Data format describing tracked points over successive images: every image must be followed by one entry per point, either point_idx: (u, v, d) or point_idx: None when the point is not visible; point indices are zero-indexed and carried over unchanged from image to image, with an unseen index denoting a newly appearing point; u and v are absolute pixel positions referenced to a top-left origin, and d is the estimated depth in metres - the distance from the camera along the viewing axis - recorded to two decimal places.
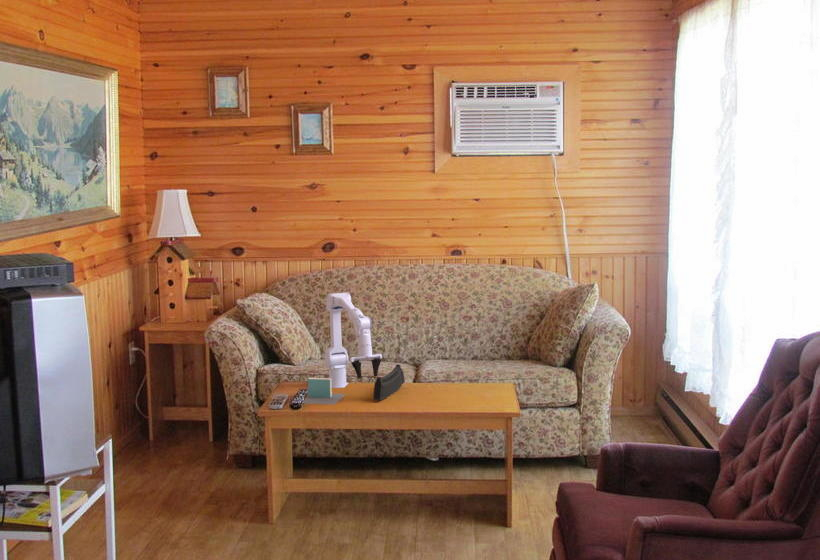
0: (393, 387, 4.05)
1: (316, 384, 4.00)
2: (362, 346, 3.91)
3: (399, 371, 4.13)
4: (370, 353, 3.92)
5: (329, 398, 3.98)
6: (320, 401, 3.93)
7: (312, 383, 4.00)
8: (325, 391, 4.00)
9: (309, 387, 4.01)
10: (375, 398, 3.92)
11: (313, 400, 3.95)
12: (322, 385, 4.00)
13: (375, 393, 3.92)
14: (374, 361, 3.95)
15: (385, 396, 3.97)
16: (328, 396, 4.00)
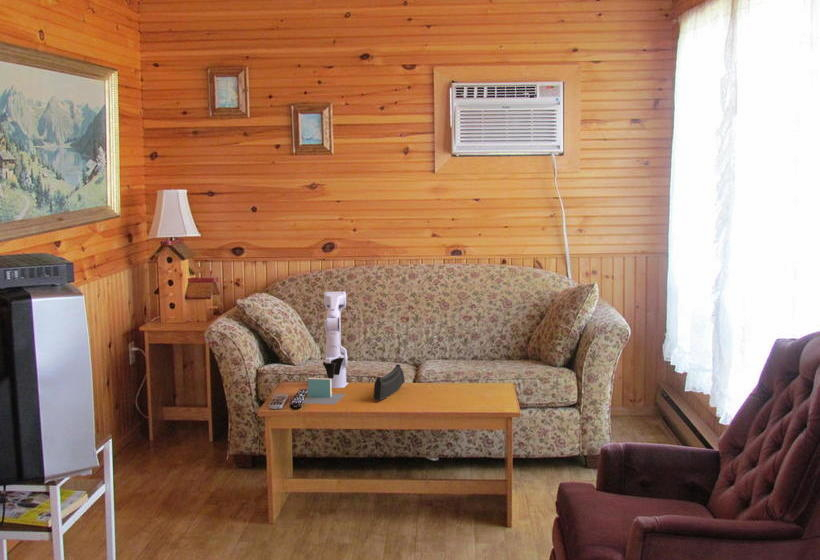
0: (392, 387, 4.05)
1: (316, 384, 4.00)
2: (335, 346, 3.92)
3: (399, 371, 4.13)
4: (339, 353, 3.95)
5: (329, 398, 3.98)
6: (320, 401, 3.93)
7: (312, 383, 4.00)
8: (325, 391, 4.00)
9: (309, 387, 4.01)
10: (375, 398, 3.92)
11: (313, 400, 3.95)
12: (322, 385, 4.00)
13: (375, 393, 3.92)
14: (337, 360, 3.99)
15: (385, 396, 3.97)
16: (328, 396, 4.00)
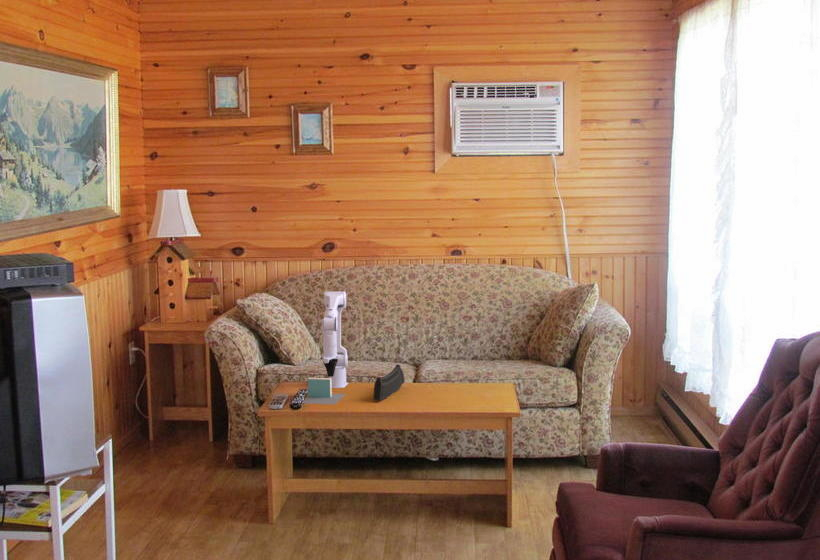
0: (392, 387, 4.05)
1: (316, 384, 4.00)
2: (333, 346, 3.92)
3: (399, 371, 4.13)
4: (336, 352, 3.96)
5: (329, 398, 3.98)
6: (320, 401, 3.93)
7: (312, 383, 4.00)
8: (325, 391, 4.00)
9: (309, 387, 4.01)
10: (375, 398, 3.92)
11: (313, 400, 3.95)
12: (322, 385, 4.00)
13: (375, 393, 3.92)
14: None
15: (385, 396, 3.97)
16: (328, 396, 4.00)
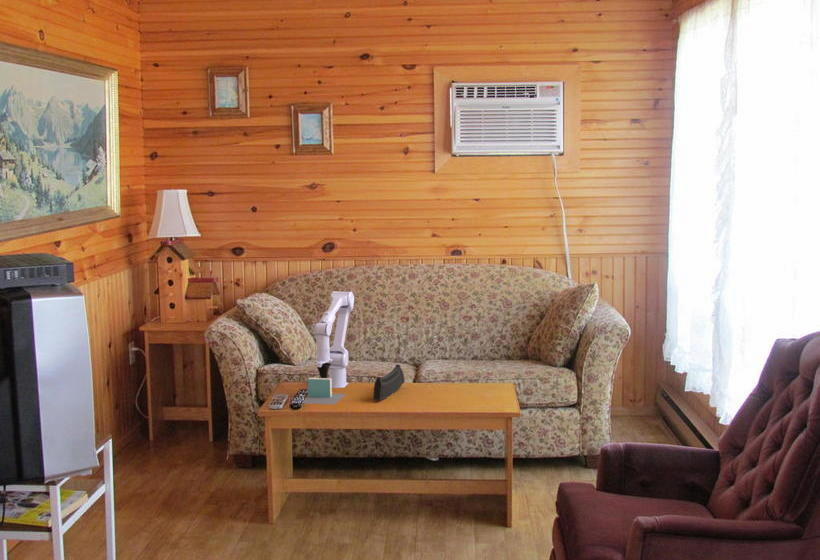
0: (392, 387, 4.05)
1: (316, 384, 4.00)
2: (326, 351, 4.03)
3: (399, 371, 4.13)
4: (329, 357, 4.07)
5: (329, 398, 3.98)
6: (320, 401, 3.93)
7: (312, 383, 4.00)
8: (325, 391, 4.00)
9: (309, 387, 4.01)
10: (375, 398, 3.92)
11: (313, 400, 3.95)
12: (322, 385, 4.00)
13: (375, 393, 3.92)
14: None
15: (385, 396, 3.97)
16: (328, 396, 4.00)
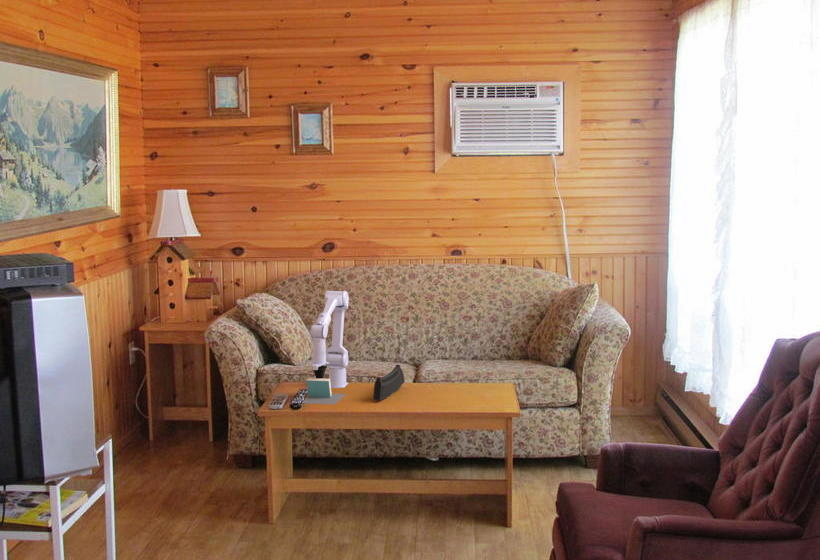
0: (392, 387, 4.05)
1: (315, 385, 3.99)
2: (322, 353, 3.97)
3: (399, 371, 4.13)
4: (325, 359, 4.01)
5: (329, 398, 3.98)
6: (320, 401, 3.93)
7: (311, 384, 3.99)
8: (325, 392, 3.99)
9: (308, 388, 4.00)
10: (375, 398, 3.92)
11: (313, 400, 3.95)
12: (321, 386, 3.98)
13: (375, 393, 3.92)
14: None
15: (385, 396, 3.97)
16: (328, 396, 4.00)
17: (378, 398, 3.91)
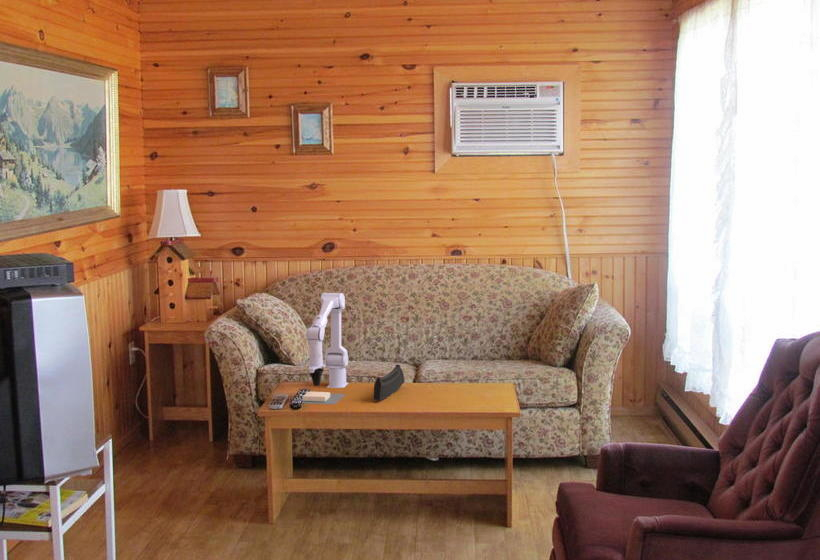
0: (392, 387, 4.05)
1: None
2: (318, 356, 3.92)
3: (399, 371, 4.13)
4: (322, 362, 3.96)
5: (329, 398, 3.98)
6: None
7: None
8: None
9: None
10: (375, 398, 3.92)
11: None
12: None
13: (375, 393, 3.92)
14: None
15: (385, 396, 3.97)
16: None
17: (378, 398, 3.91)
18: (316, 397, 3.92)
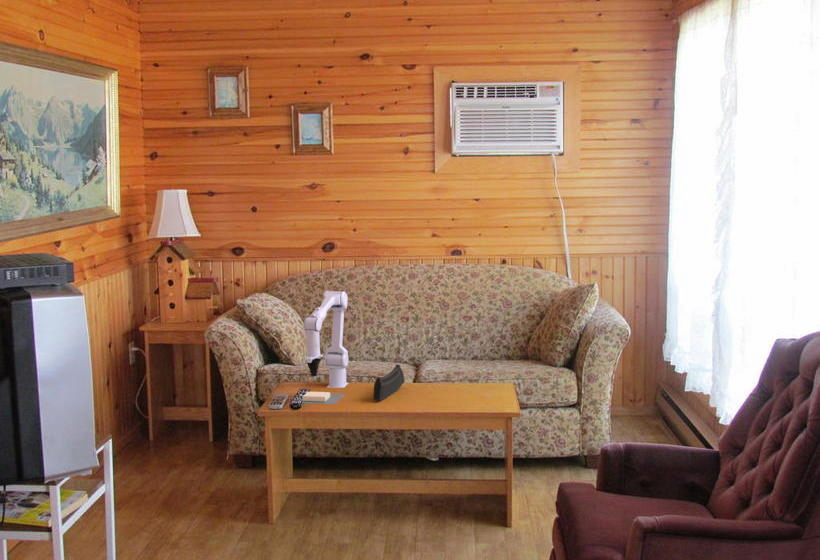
0: (392, 387, 4.05)
1: None
2: (316, 346, 3.94)
3: (399, 371, 4.13)
4: (319, 352, 3.98)
5: (329, 398, 3.98)
6: None
7: None
8: None
9: None
10: (375, 398, 3.92)
11: None
12: None
13: (375, 393, 3.92)
14: None
15: (385, 396, 3.97)
16: None
17: (378, 398, 3.91)
18: (316, 397, 3.92)
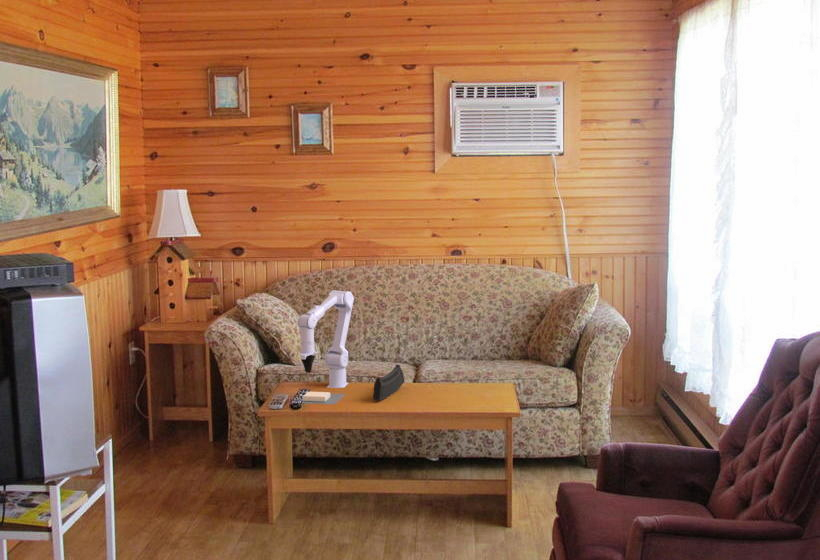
0: (392, 387, 4.05)
1: None
2: (310, 343, 4.01)
3: (399, 371, 4.13)
4: None
5: (329, 398, 3.98)
6: None
7: None
8: None
9: None
10: (375, 398, 3.92)
11: None
12: None
13: (375, 393, 3.92)
14: None
15: (385, 396, 3.97)
16: None
17: (378, 398, 3.91)
18: (316, 397, 3.92)
